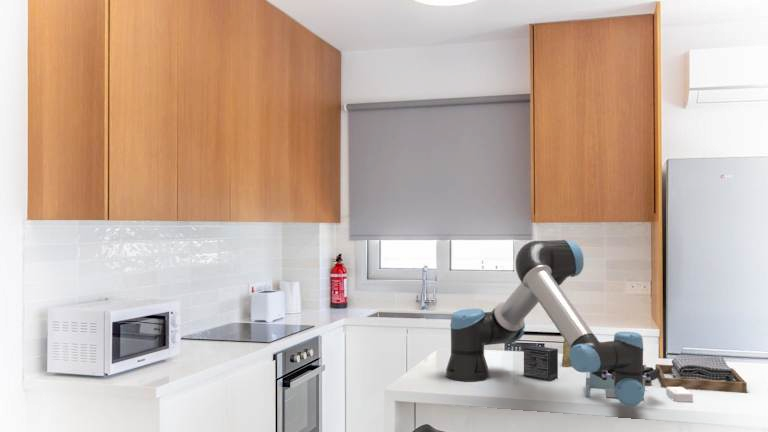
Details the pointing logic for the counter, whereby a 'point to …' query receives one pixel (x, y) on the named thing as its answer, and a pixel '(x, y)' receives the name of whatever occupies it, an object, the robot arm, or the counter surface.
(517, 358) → the counter surface
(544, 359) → the small box
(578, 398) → the counter surface
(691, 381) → the towel frame
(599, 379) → the divider
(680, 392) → the soap
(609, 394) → the coaster
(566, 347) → the rock
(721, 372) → the towel
